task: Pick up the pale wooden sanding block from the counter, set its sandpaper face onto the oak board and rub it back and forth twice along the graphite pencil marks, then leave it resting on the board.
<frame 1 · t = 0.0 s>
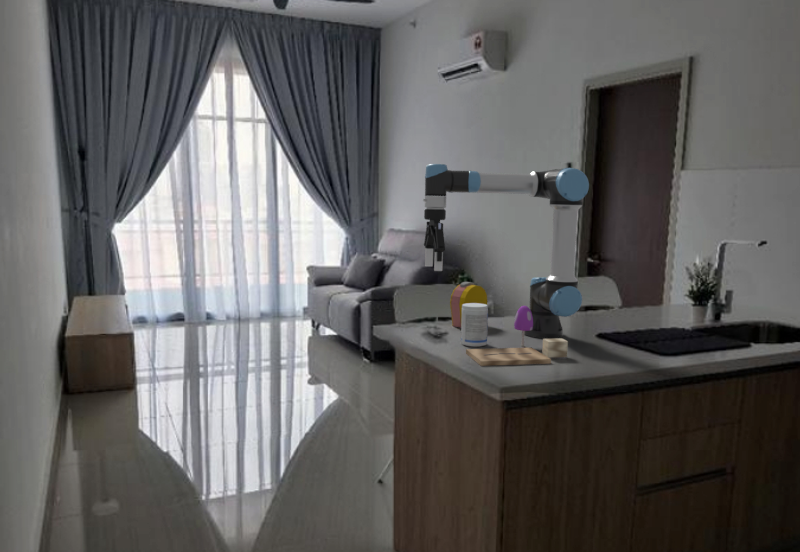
hand: (433, 268, 225), 28 cm above the counter, fingers open, 13 cm apart
supplement tub: (473, 344, 232), on the counter
board: (507, 358, 212), on the counter
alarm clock: (467, 326, 265), on the counter
toy: (522, 346, 230), on the counter
sanding block: (554, 357, 216), on the counter
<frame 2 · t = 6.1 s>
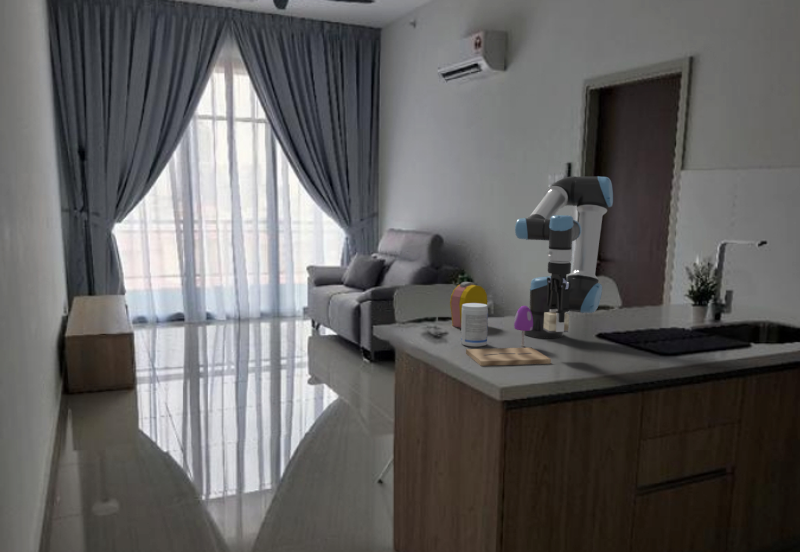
hand: (556, 329, 215), 9 cm above the counter, fingers closed on sanding block, 4 cm apart
sanding block: (555, 330, 215), point 9 cm above the counter, touching gripper
everything else where it was.
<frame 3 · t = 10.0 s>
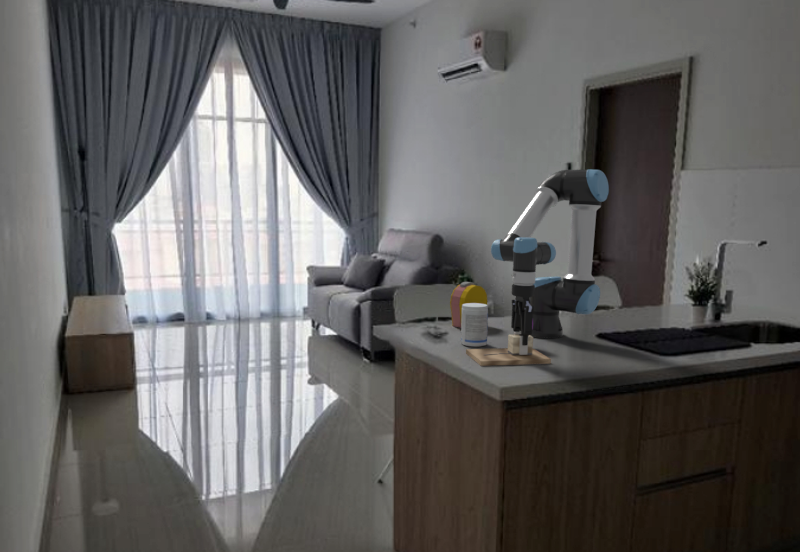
hand: (520, 352, 213), 2 cm above the counter, fingers closed on sanding block, 4 cm apart
sanding block: (519, 353, 213), point 2 cm above the counter, touching gripper
everything else where it was.
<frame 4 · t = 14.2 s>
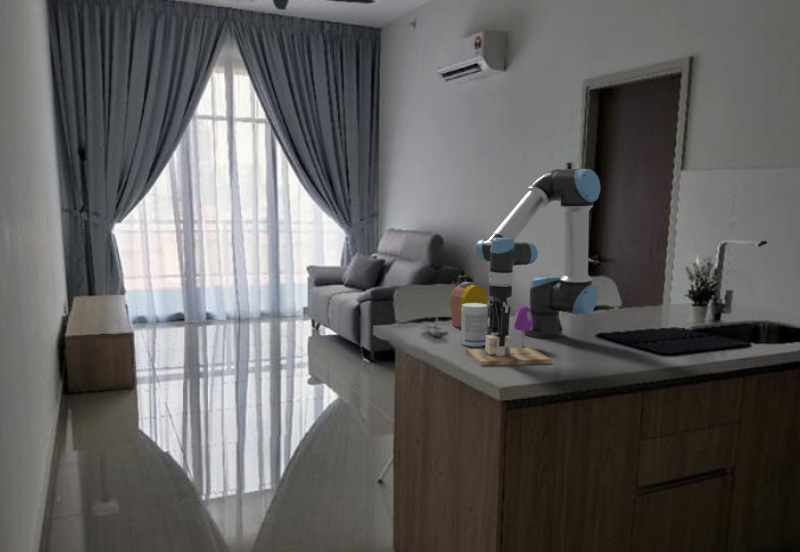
hand: (497, 353, 211), 2 cm above the counter, fingers closed on sanding block, 4 cm apart
sanding block: (497, 353, 211), point 2 cm above the counter, touching gripper
everything else where it was.
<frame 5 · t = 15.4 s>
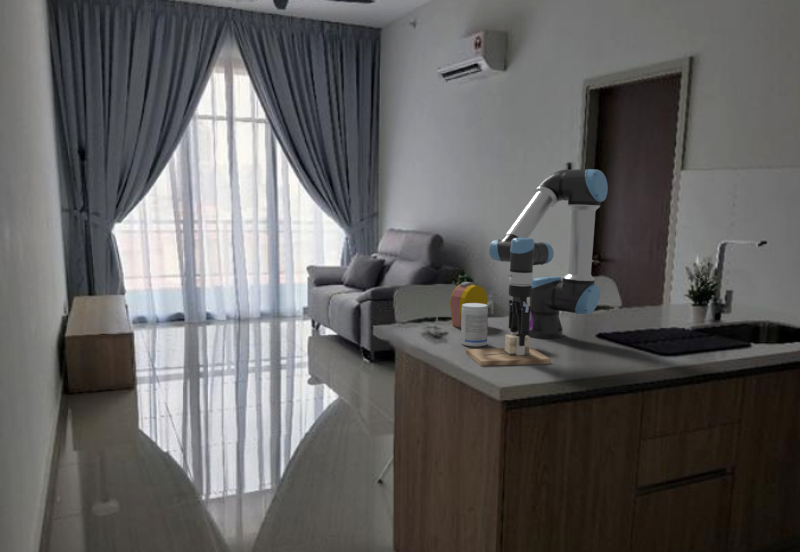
hand: (517, 352, 213), 2 cm above the counter, fingers closed on sanding block, 4 cm apart
sanding block: (516, 353, 213), point 2 cm above the counter, touching gripper
everything else where it was.
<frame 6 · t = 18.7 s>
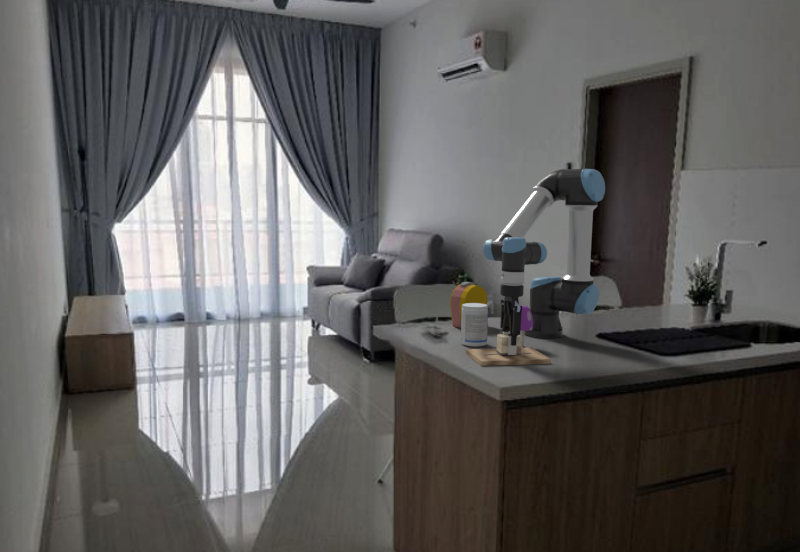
hand: (509, 352, 212), 2 cm above the counter, fingers closed on sanding block, 4 cm apart
sanding block: (508, 353, 212), point 2 cm above the counter, touching gripper
everything else where it was.
when the fingers open (2 cm above the counter, at t = 21.6 s): sanding block stays where it is, resting on board.
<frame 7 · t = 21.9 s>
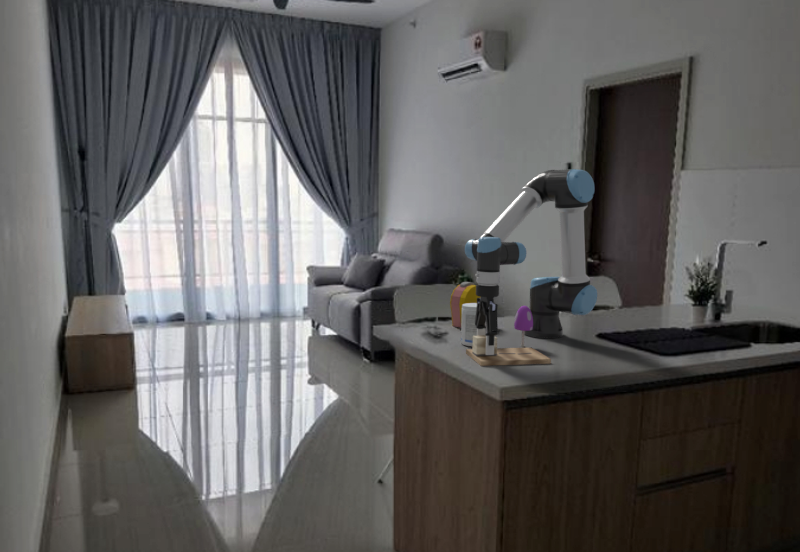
hand: (484, 351, 210), 3 cm above the counter, fingers open, 9 cm apart
sanding block: (484, 354, 210), point 2 cm above the counter, touching board
everything else where it was.
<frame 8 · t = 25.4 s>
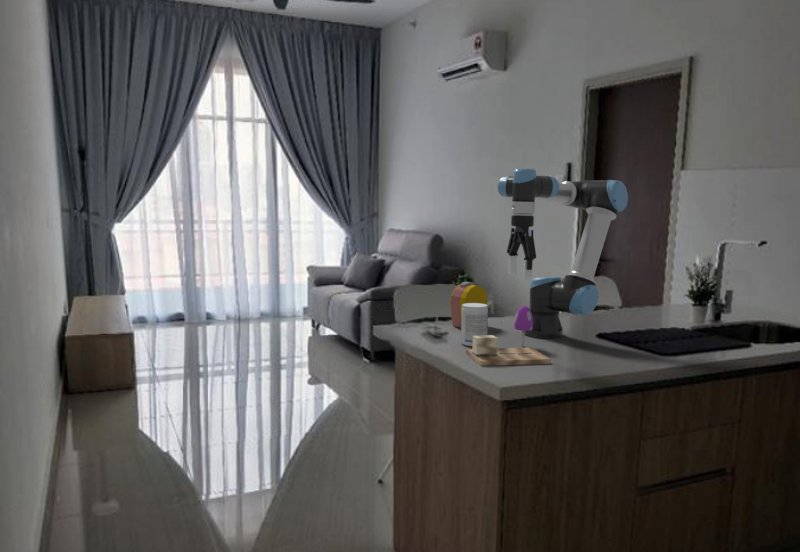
hand: (519, 276, 217), 27 cm above the counter, fingers open, 13 cm apart
nothing on the counter moved.
at the end: sanding block inside the target area on the board (8.1 cm from its centre), point 1.6 cm above the board's base; sanding block touching board; sanding block moved 25.2 cm from its start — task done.
